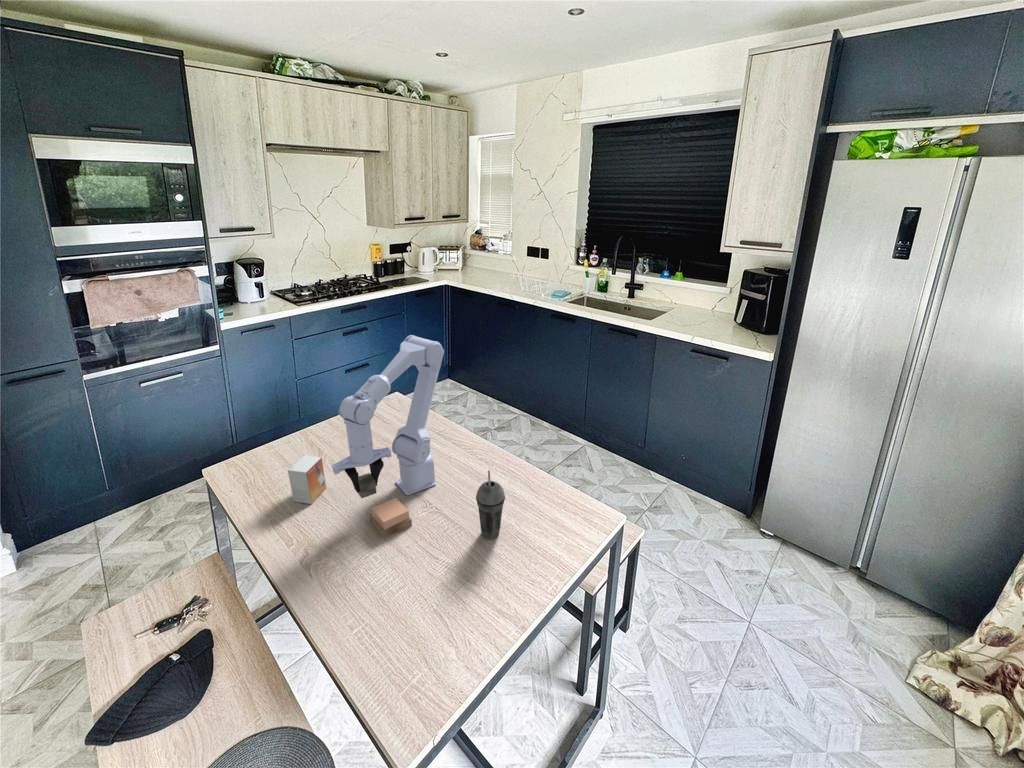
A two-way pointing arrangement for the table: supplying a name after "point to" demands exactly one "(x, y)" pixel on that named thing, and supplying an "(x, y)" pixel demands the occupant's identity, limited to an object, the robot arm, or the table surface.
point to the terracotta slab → (390, 513)
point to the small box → (307, 479)
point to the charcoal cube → (366, 485)
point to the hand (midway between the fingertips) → (365, 487)
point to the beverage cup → (490, 508)
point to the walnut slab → (392, 529)
